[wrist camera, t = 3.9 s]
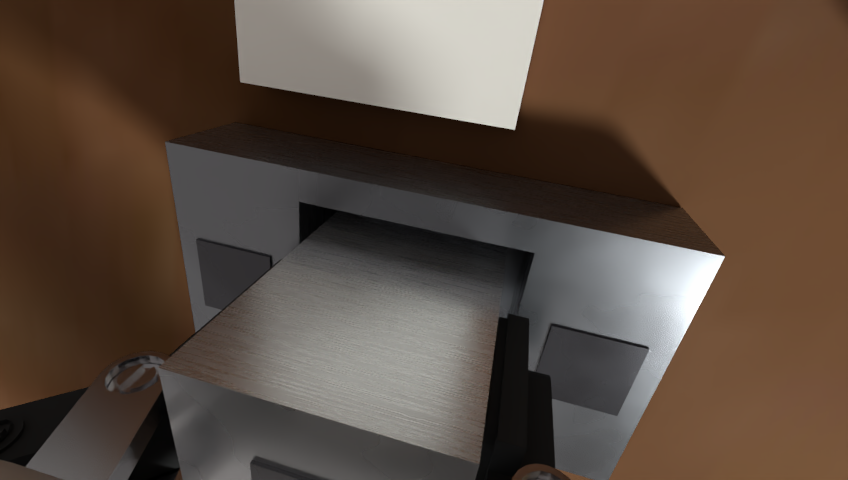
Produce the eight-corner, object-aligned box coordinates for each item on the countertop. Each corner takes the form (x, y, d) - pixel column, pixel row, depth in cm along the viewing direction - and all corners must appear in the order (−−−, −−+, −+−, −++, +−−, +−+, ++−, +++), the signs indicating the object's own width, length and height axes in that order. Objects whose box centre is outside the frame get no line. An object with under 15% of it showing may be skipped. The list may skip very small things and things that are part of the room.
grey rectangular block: (509, 229, 13) (478, 469, 6) (479, 353, 15) (429, 637, 8) (354, 196, 13) (154, 371, 6) (348, 320, 16) (195, 550, 9)
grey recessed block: (682, 207, 12) (726, 258, 9) (594, 407, 15) (606, 485, 13) (235, 122, 14) (163, 142, 11) (250, 315, 17) (199, 365, 15)
